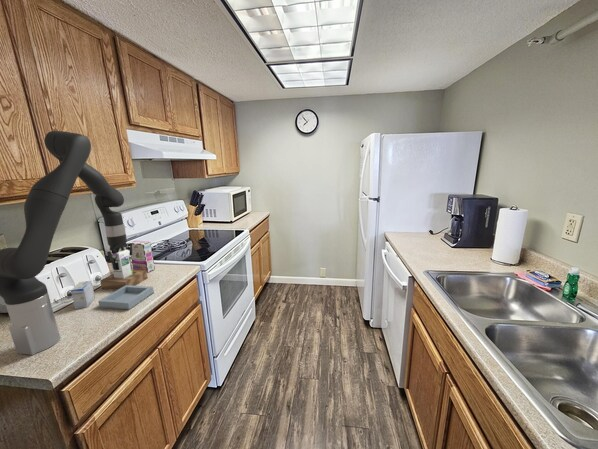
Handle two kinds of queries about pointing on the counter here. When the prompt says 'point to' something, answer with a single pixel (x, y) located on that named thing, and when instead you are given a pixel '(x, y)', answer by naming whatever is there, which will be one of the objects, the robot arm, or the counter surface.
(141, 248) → the candy bar box
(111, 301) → the tray
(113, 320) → the counter surface
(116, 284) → the socket collar
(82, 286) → the medicine box
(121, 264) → the syrup box
